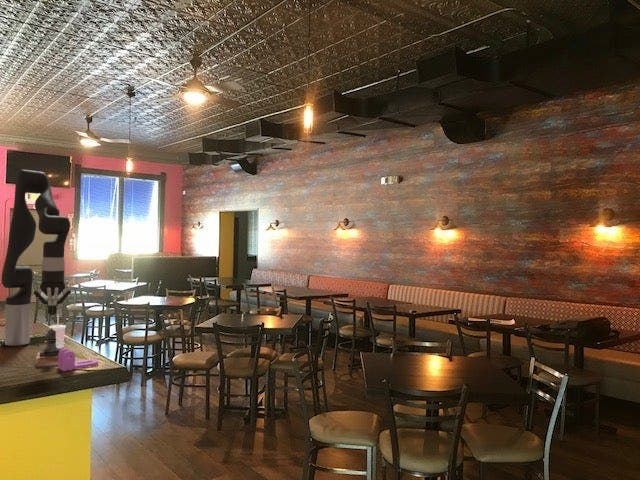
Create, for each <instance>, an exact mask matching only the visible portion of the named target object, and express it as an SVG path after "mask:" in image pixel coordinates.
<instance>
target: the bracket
mask: <svg viewBox="0 0 640 480" xmlns="http://www.w3.org/2000/svg"><path fill="white" fill-rule="evenodd" d="M97 364H98V365H99V360H98V359H87V360H86V359H84V360H80V361H79V360H78V361H76V353H75V352H73V351H72V350H70V349H68V348H66V347H65V348H64V347H63V348H60V350H59V355H58V365H57V369H59V370H61V371H62V370H63V371H62V372H67V370H69V371H73V370H72V369H75V370H78V369H77V368H81V369H84V368H83V367H87V368H89V367H88V366H93V367H95V366H94V365H97ZM98 365H97V366H98Z"/></svg>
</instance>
